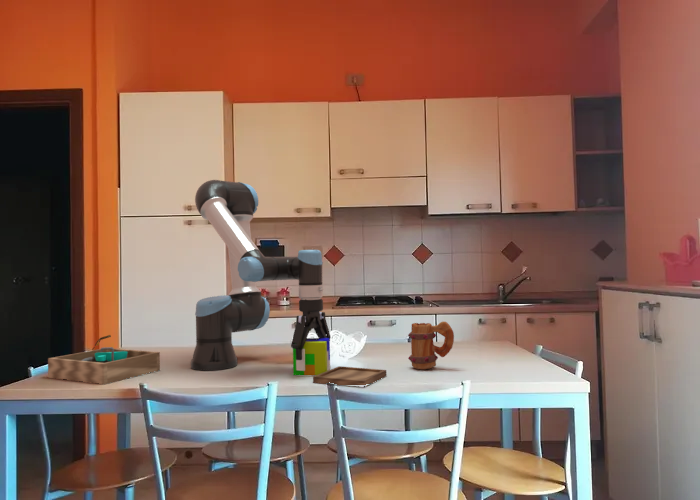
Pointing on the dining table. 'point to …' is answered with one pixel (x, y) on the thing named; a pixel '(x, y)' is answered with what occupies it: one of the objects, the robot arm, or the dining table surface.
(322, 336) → the robot arm
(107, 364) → the open wooden box
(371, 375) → the square wooden tray
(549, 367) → the dining table surface
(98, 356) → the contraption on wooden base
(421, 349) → the mug
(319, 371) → the puzzle toy
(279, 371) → the dining table surface
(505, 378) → the dining table surface
